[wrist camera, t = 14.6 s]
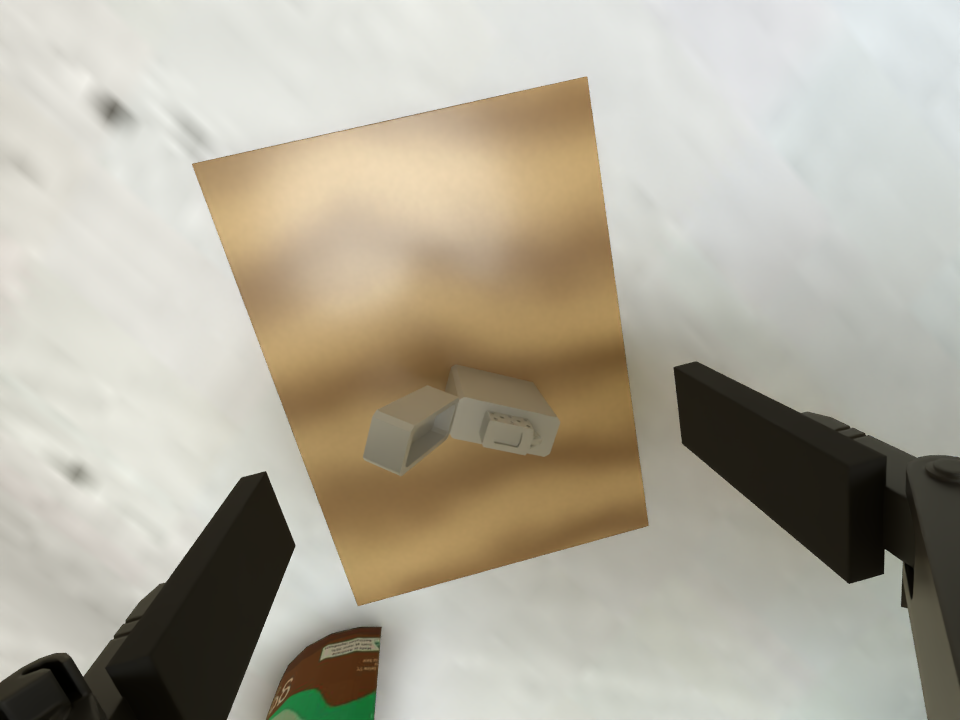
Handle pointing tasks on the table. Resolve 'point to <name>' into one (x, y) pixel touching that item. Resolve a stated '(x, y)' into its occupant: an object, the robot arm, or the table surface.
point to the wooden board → (440, 325)
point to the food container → (331, 679)
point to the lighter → (462, 419)
